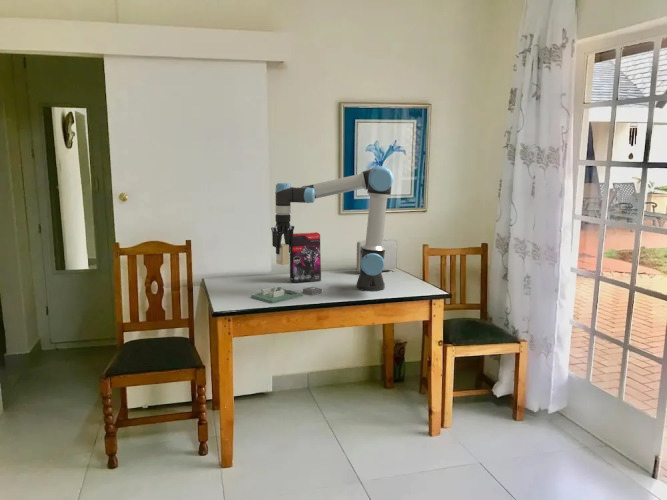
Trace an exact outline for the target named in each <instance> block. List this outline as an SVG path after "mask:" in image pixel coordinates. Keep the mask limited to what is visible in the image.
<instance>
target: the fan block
mask: <svg viewBox="0 0 667 500" xmlns="http://www.w3.org/2000/svg"><path fill="white" fill-rule="evenodd" d="M302 293H304V294H306V295H311V296H313V295H314V296H315V295H318V294H321V293H323V289H322V288H320V287H316V286H310V287H306V288H305V287H304V288H302Z"/></svg>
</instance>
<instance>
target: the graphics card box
mask: <svg viewBox="0 0 667 500" xmlns="http://www.w3.org/2000/svg"><path fill="white" fill-rule="evenodd" d="M290 243H291V242H290ZM321 264H322V262H321V234H320V233H319V232H317V231H316V232H315V231H314V232H299V233H295V232H294V233H293V245H291V247H289V280H290V282H291V283H292V284H293V283H294V284H297V283H305V282H319V281H320V282H321V281H322V267H321V266H322V265H321Z"/></svg>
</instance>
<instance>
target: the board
mask: <svg viewBox="0 0 667 500" xmlns="http://www.w3.org/2000/svg"><path fill="white" fill-rule="evenodd" d="M250 296H251V298H252V299H255V300H259V301H262V302H265V303H266V302H267V303H270V304H276V303H280V302H283V301H289V300H291V299H295V298H299V297H303V292H298V291H293V290H290V289H286V288H282V286H278V287H277V288H276V287H273V286H271V287H267V288H262V289H261V290H260V293H253V294H251V295H250Z"/></svg>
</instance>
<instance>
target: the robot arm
mask: <svg viewBox="0 0 667 500" xmlns="http://www.w3.org/2000/svg"><path fill="white" fill-rule="evenodd" d="M393 183H394V175H393V172H392V171H391V170H390V169H389V168H388V167H386V166H383V165H381V166H379V165H378V166H375V167H373V168H370V169H367V170H364V171H363V170H362V171H361V172H360V173H359V174H354V175H349V176H344V177H340V178H337V179H336V178H335V179H332V180H331V179H330V180H328V181H327V180H326V181H322V182H317V183H314V184H308V185H302V186H301V187H293V186H291V183H288V182H287V183H286V182H277V183H276V184H275V192H274V193H275V216H274V217H275V226H273V227H271V233H272V234H271V235H272V236H271V237H272V238H271V239H272V245H271V246H272V247H274V248H275V254H276V259H277V260H279V261H281V248H280V245H281V244H282V239H283V238H284V240H283V241H284V244H288V245H289V247H291V245H293V234H294V230H295V226H294V225H291V223H290V222H291V213H292V211H291V208H292V207H291V205H292V204H291V203H300V204H301V203H306V204H309V203H310V204H313V203H315V200H316V199H319V198H324V197H329V196H334V195H335V196H336V195H339V194H343V193H348V192H352V191H357V190H362V189H364V190H365V191H366V190H367V193H366V194H367V195H368V196H369V201H368V203H369V205H368V214H367V215H368V216H367V223H366V235H365V241H366V244H365V245H364V246H361V247H360V271H359V275H358V277H357V278H358V279H357V280H356V284H355V285H356V289H358V290H360V291H367V292H377V291H382V290H384V289H385V288H386V287H385V286H386V285H385V282H384V278H383V274H382V273H383V271H382V270H383V269H384V266H385V263H384V255H385V248H384V247H383V239H384V235H385V234H384V233H385V224H386V214H387V213H386V211H387V204H388V198H389V197H390V196H391V195H392V194H391V193H392V185H393ZM290 242H291V243H290Z"/></svg>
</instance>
